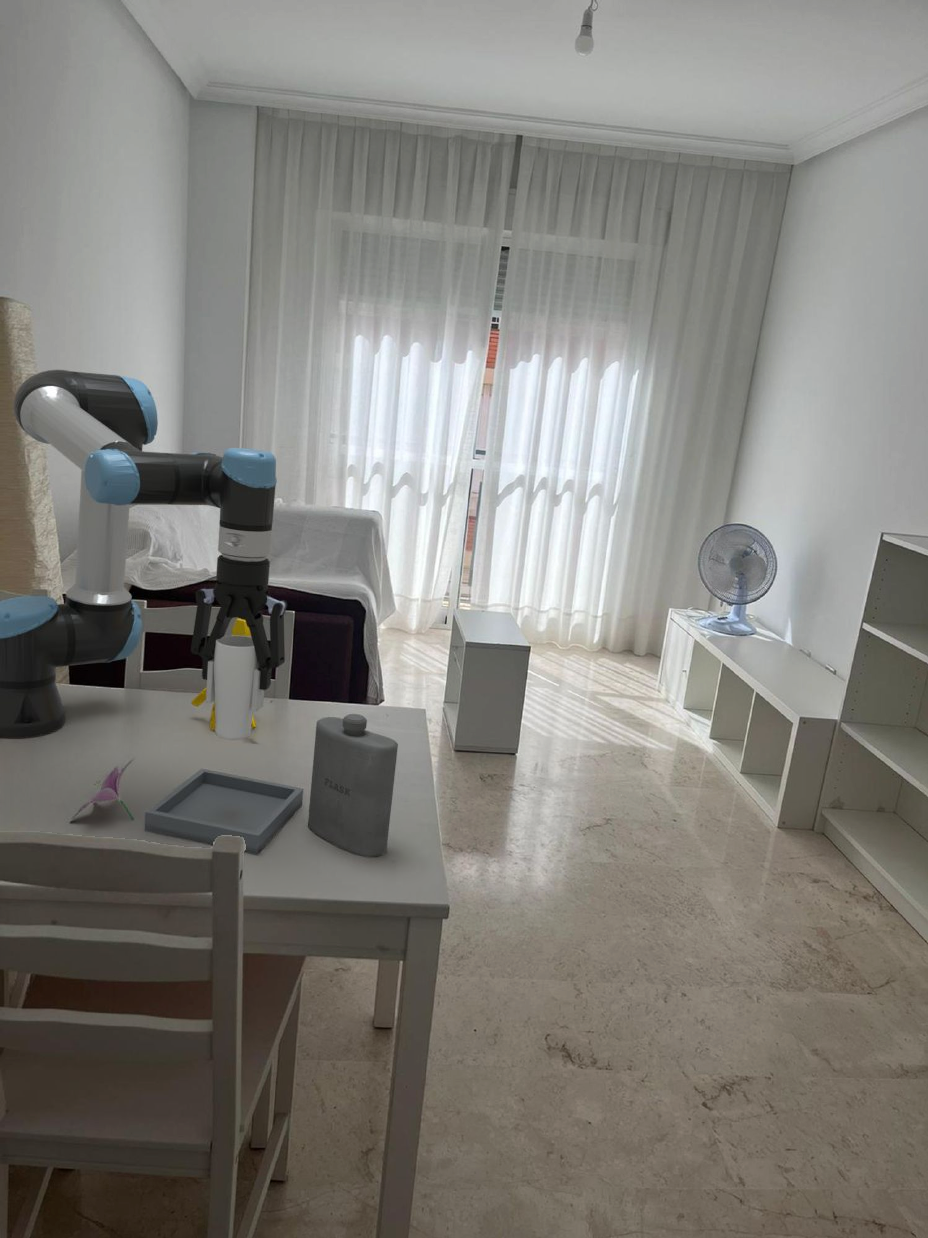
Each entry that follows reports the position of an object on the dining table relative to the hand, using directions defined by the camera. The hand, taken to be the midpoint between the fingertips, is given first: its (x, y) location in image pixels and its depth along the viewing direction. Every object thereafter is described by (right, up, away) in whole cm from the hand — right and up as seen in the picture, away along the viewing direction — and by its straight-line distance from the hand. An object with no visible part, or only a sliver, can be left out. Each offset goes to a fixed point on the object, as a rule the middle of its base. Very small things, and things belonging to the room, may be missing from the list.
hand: (234, 704), depth 140 cm
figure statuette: (-11, -9, +41) cm, 43 cm away
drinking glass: (-1, -5, +1) cm, 5 cm away
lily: (-20, -17, 0) cm, 26 cm away
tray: (-2, -18, +4) cm, 19 cm away
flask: (+16, -21, +2) cm, 27 cm away
